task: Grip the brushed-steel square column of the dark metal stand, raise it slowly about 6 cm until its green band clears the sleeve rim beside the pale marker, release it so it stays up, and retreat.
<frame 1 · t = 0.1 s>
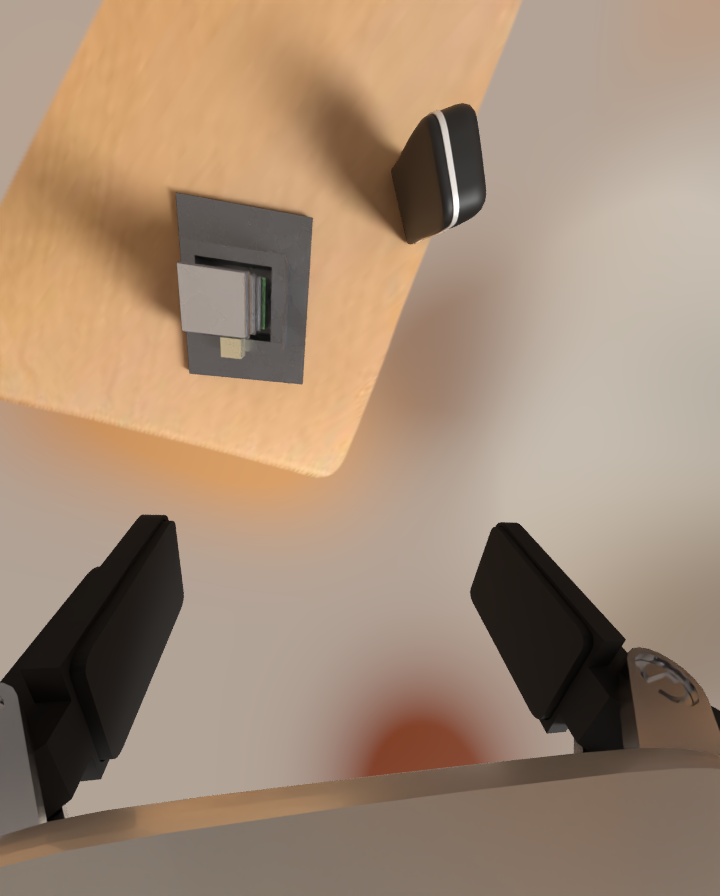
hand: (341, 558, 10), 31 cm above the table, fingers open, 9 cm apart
stand: (248, 300, 34), on the table
column: (233, 301, 27), point 7 cm above the table, slide at 0.0 cm, touching stand
battery charger: (415, 203, 33), on the table
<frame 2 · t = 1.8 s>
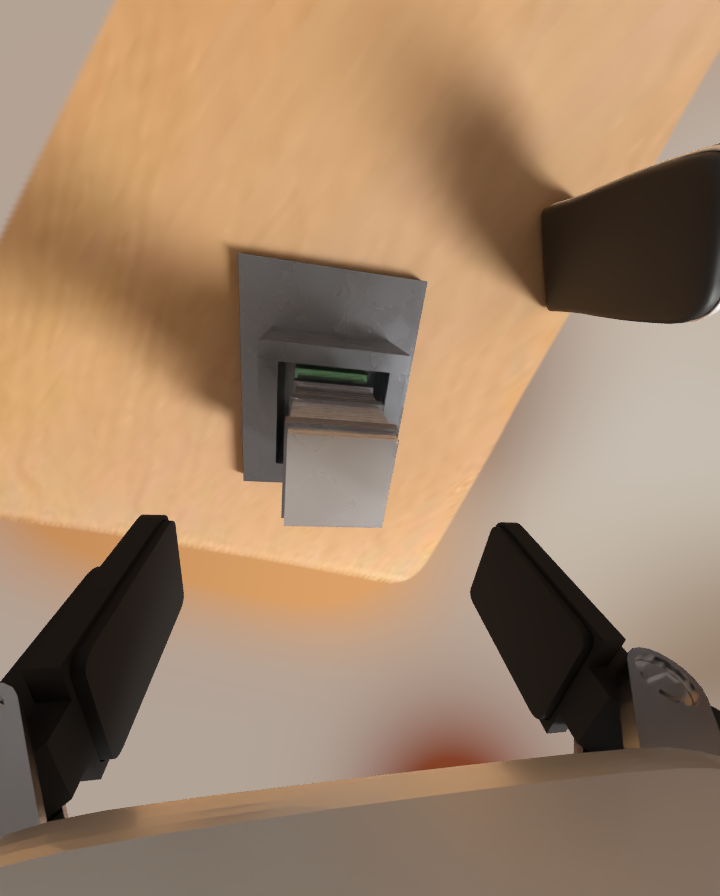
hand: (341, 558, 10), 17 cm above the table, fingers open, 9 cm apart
stand: (326, 387, 25), on the table
column: (330, 423, 18), point 8 cm above the table, slide at 0.0 cm, touching stand
battery charger: (564, 255, 23), on the table
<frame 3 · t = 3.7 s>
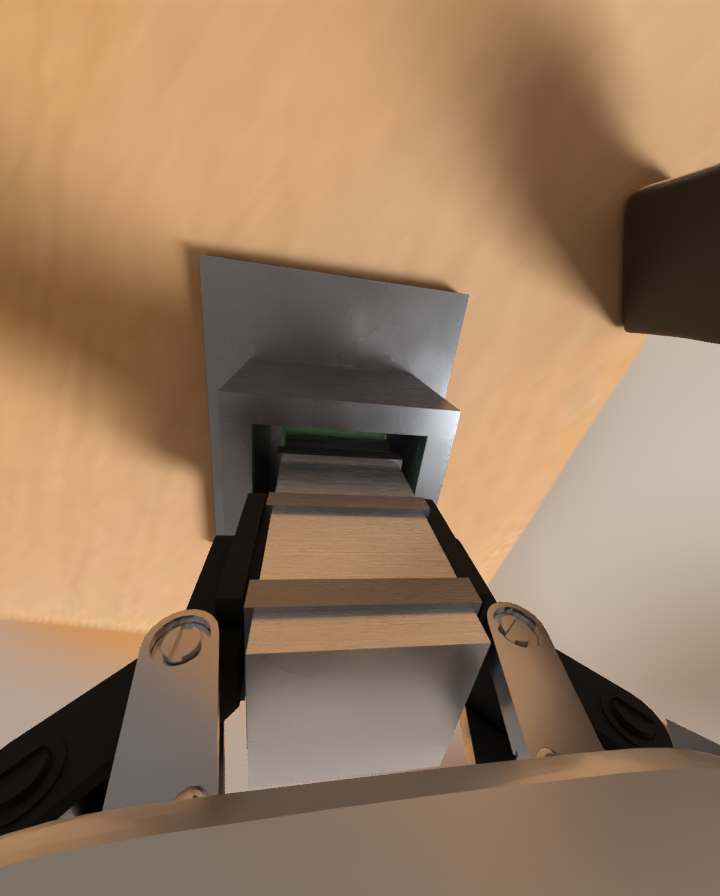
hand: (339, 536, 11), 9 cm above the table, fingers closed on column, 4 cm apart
stand: (327, 434, 19), on the table
column: (336, 512, 12), point 7 cm above the table, slide at 0.0 cm, touching gripper, stand
battery charger: (650, 258, 17), on the table
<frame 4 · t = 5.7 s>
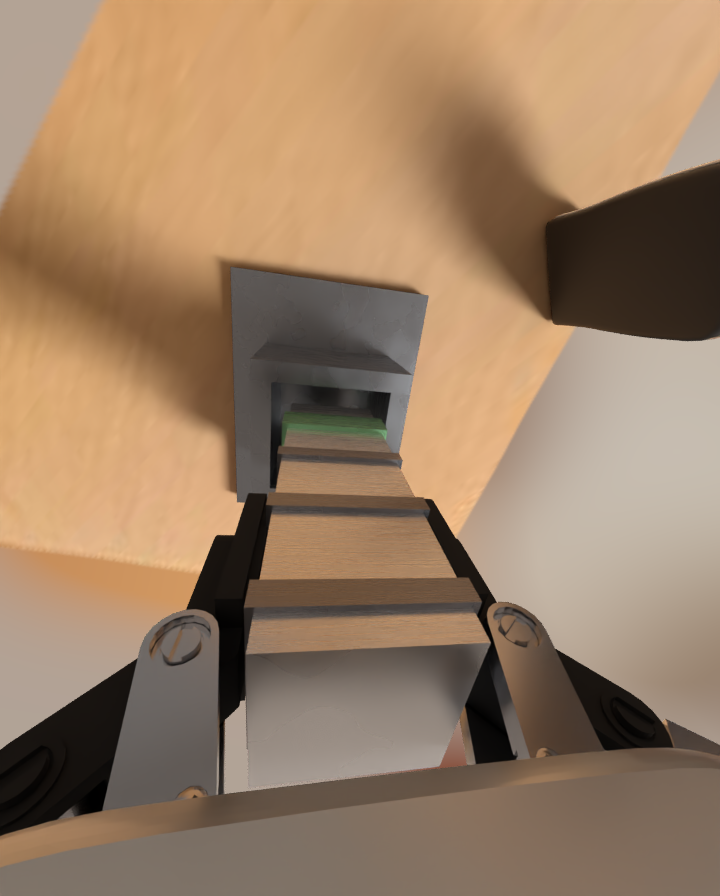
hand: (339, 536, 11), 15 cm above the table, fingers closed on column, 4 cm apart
stand: (323, 404, 24), on the table
column: (336, 512, 12), point 13 cm above the table, slide at 5.9 cm, touching gripper
battery charger: (570, 268, 23), on the table
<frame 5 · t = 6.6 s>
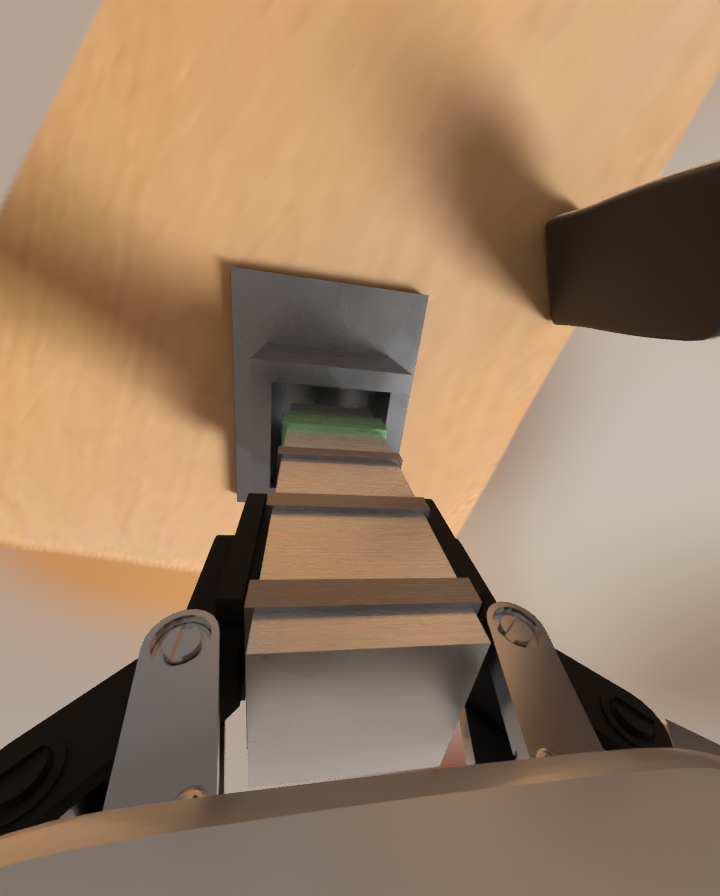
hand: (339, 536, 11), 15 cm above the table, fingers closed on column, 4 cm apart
stand: (323, 404, 24), on the table
column: (336, 512, 12), point 13 cm above the table, slide at 6.0 cm, touching gripper
battery charger: (569, 267, 23), on the table
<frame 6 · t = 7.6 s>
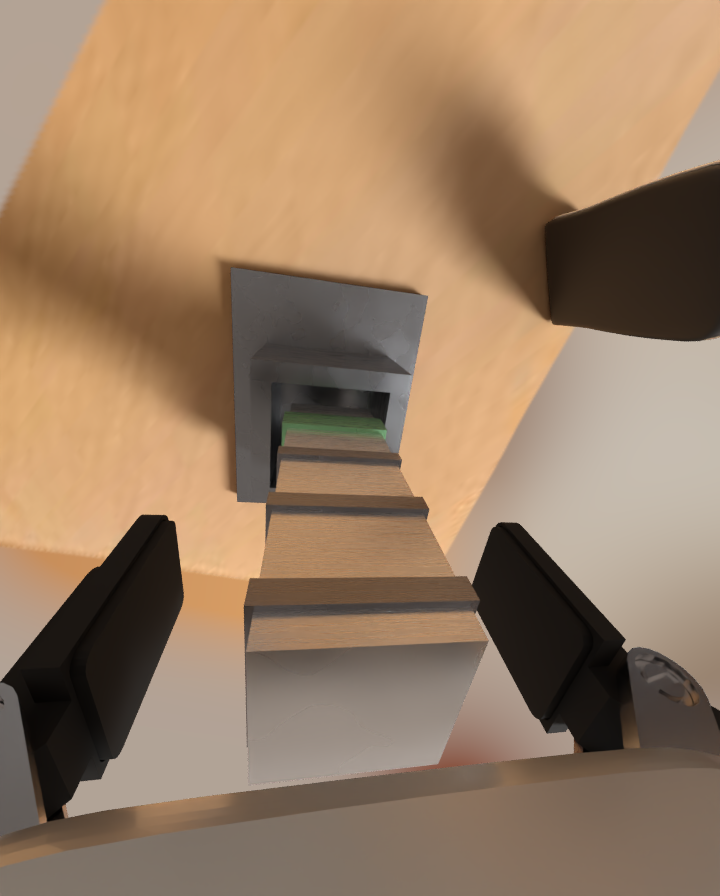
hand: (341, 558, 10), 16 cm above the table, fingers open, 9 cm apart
stand: (323, 404, 24), on the table
column: (335, 512, 12), point 13 cm above the table, slide at 6.0 cm
battery charger: (568, 268, 23), on the table
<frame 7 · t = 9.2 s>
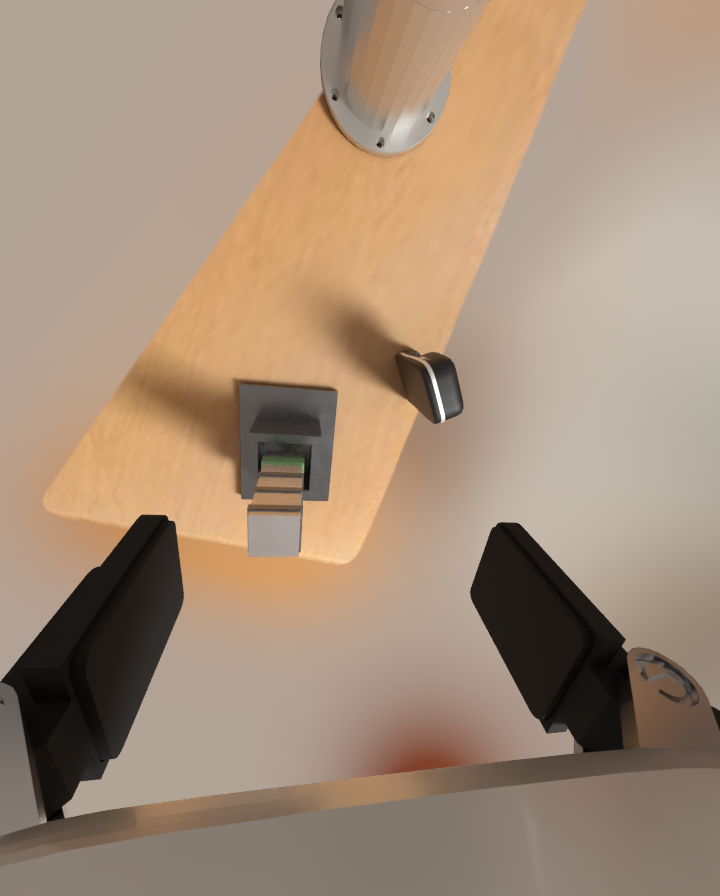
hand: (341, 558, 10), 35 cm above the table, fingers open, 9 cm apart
stand: (287, 445, 45), on the table
column: (280, 495, 32), point 13 cm above the table, slide at 6.0 cm
battery charger: (413, 373, 44), on the table
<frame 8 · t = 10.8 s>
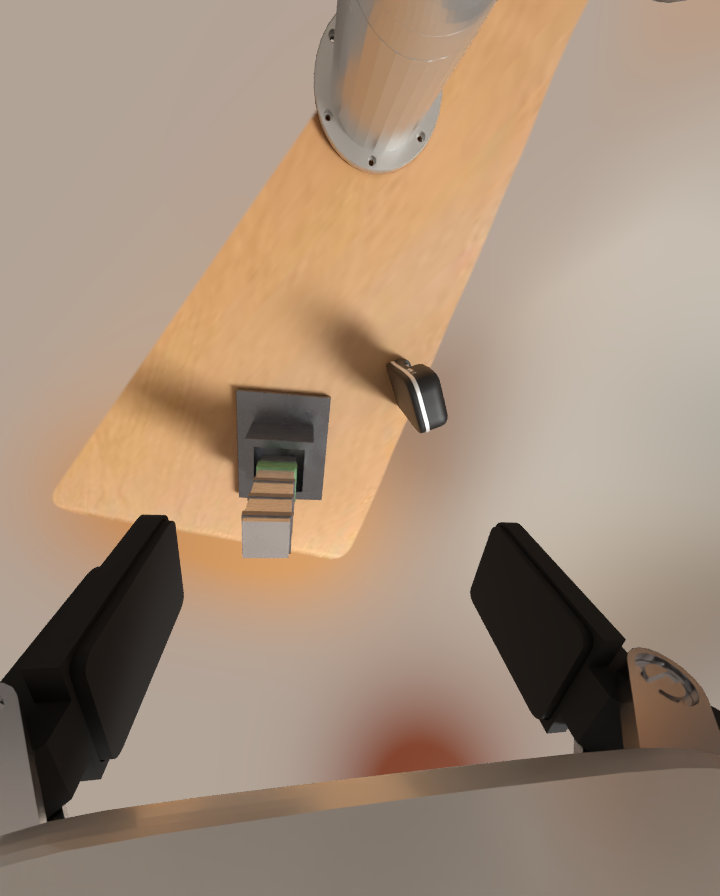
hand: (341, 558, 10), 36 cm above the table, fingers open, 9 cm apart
stand: (283, 447, 47), on the table
column: (273, 499, 35), point 13 cm above the table, slide at 6.0 cm
battery charger: (404, 381, 46), on the table
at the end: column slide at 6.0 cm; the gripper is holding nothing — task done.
